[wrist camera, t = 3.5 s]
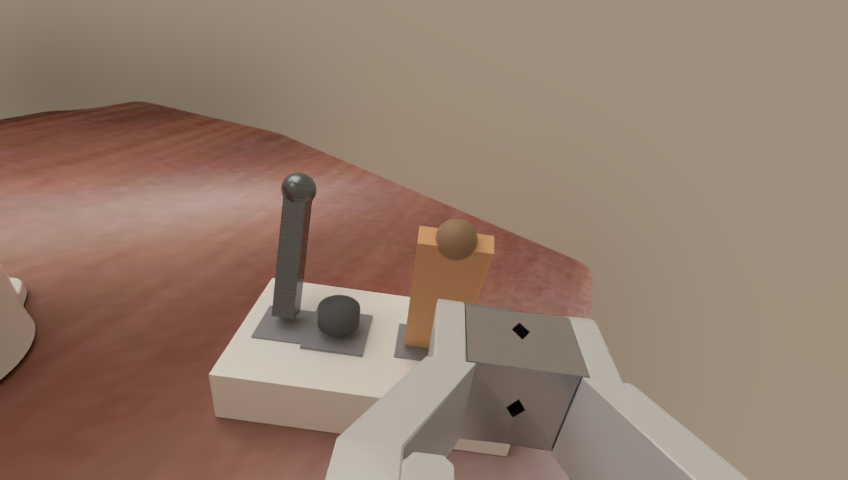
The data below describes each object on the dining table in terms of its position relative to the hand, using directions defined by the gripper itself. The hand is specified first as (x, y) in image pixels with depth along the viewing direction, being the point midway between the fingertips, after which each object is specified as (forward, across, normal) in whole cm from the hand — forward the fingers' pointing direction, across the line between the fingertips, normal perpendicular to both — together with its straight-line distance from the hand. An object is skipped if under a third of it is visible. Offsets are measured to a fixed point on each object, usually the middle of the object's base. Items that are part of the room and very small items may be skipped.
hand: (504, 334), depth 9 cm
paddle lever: (+18, 0, +17) cm, 25 cm away
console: (+18, +4, +21) cm, 28 cm away
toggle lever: (+18, +11, +17) cm, 27 cm away
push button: (+18, +7, +17) cm, 26 cm away
